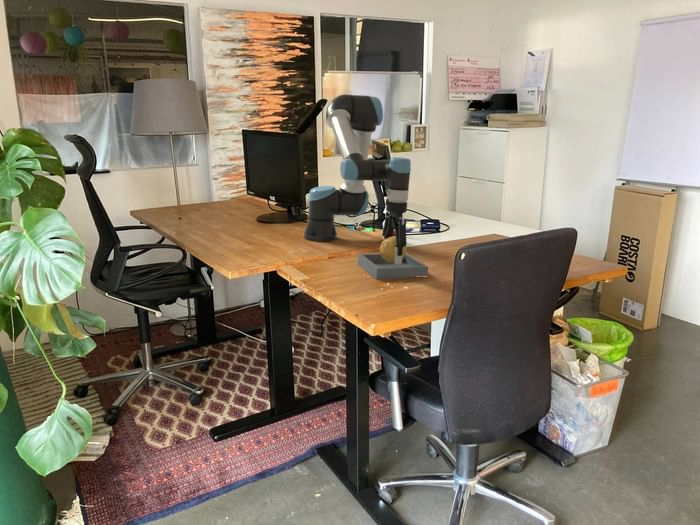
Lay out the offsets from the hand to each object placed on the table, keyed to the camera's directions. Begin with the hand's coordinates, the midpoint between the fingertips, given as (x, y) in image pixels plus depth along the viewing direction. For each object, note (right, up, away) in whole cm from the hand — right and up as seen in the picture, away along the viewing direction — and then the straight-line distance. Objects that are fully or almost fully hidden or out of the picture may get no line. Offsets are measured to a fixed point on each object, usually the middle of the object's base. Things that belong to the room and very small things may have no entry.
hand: (392, 259), depth 206 cm
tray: (0, -4, +1) cm, 4 cm away
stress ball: (0, -1, 0) cm, 1 cm away
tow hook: (+5, +13, +64) cm, 65 cm away
